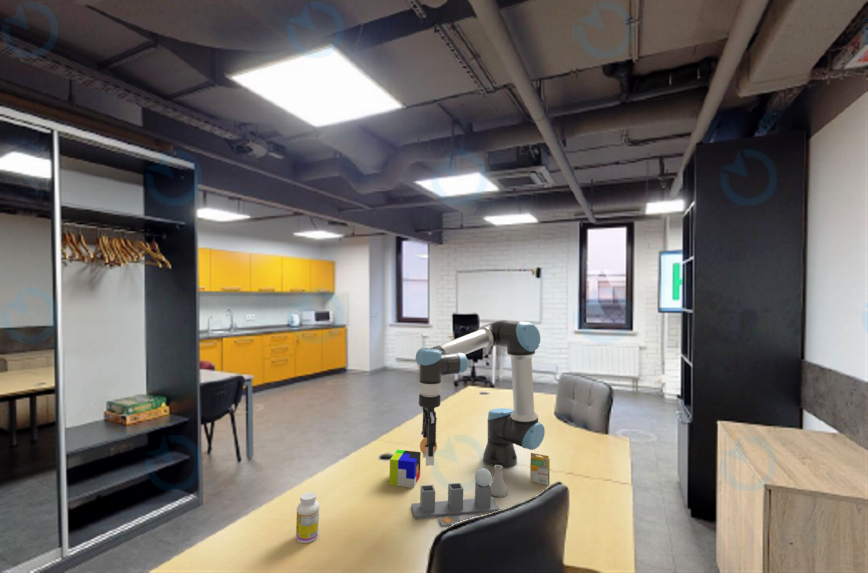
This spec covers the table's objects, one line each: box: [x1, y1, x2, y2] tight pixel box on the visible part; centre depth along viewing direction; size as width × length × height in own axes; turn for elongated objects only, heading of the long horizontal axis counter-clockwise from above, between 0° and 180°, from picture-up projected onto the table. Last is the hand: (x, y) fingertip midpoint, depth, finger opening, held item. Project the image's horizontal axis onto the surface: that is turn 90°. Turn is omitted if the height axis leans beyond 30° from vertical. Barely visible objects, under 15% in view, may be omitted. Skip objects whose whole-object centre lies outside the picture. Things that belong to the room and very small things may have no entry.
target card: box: [438, 514, 481, 528], centre depth 134 cm, size 14×4×1 cm, turn 101°
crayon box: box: [529, 452, 551, 486], centre depth 163 cm, size 7×3×12 cm, turn 65°
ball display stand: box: [411, 481, 501, 520], centre depth 142 cm, size 30×8×8 cm, turn 101°
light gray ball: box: [474, 467, 493, 487], centre depth 143 cm, size 6×6×6 cm
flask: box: [490, 465, 508, 498], centre depth 154 cm, size 7×7×10 cm
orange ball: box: [419, 437, 438, 455], centre depth 140 cm, size 6×6×6 cm
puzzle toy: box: [388, 449, 422, 489], centre depth 162 cm, size 10×10×10 cm
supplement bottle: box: [295, 491, 320, 544], centre depth 124 cm, size 7×7×13 cm
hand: (428, 460), depth 140 cm, fingers closed on orange ball, 6 cm apart
